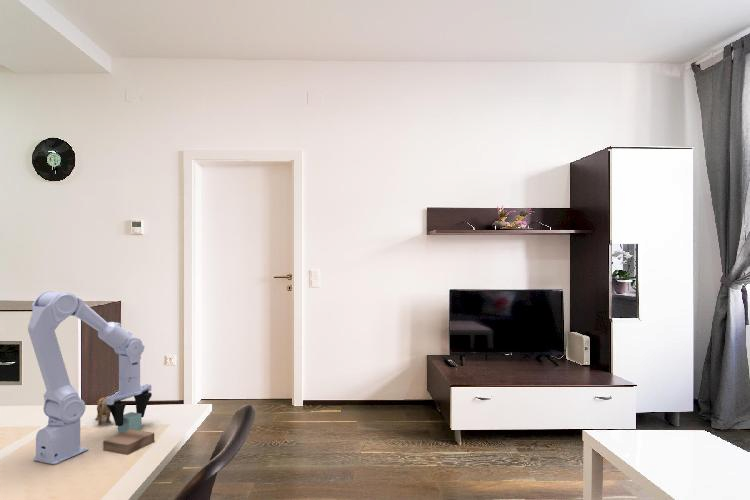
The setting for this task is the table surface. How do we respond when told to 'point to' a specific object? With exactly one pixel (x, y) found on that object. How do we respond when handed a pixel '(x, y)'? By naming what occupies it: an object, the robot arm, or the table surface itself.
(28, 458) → the table surface
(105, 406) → the lion figurine
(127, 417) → the teal brick
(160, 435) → the table surface
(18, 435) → the table surface
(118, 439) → the walnut base block
